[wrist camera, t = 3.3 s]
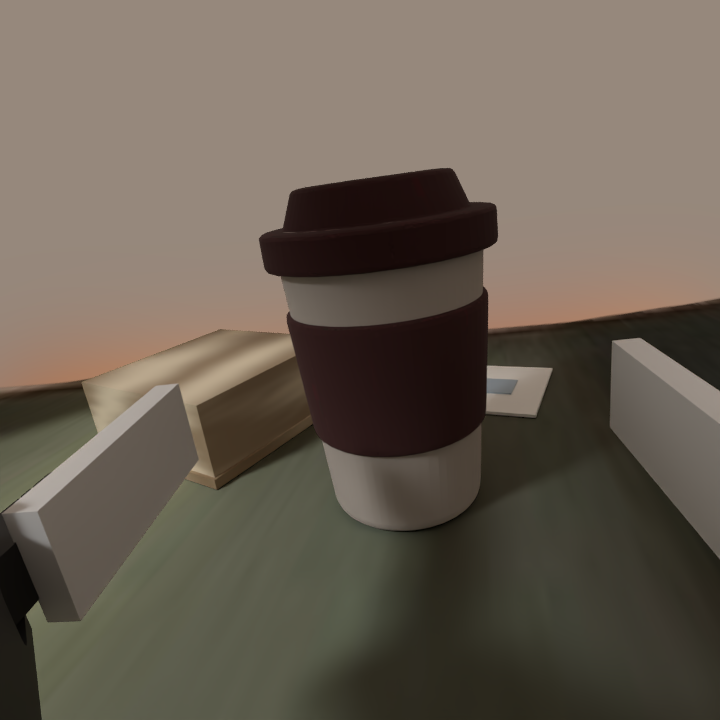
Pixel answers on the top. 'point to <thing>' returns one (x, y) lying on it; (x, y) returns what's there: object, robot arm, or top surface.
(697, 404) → the robot arm
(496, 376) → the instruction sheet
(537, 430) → the top surface
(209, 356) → the tan flat block
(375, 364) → the coffee cup
